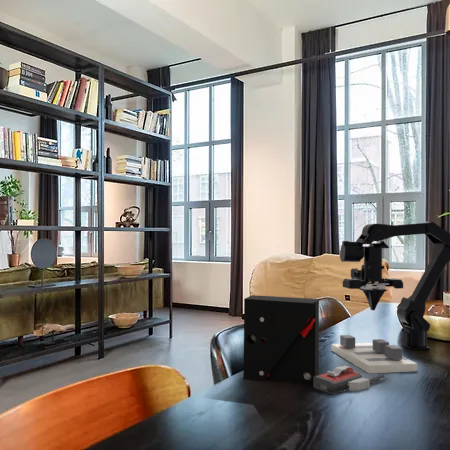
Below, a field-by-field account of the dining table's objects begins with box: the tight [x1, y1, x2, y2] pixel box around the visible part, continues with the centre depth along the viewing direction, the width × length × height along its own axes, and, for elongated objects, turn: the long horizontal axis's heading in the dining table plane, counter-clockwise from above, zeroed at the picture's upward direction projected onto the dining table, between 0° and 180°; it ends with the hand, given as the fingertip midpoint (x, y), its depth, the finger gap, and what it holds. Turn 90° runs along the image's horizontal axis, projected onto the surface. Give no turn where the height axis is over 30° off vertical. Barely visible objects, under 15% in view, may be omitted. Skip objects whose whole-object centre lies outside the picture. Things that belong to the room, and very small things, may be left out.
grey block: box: [372, 338, 390, 353], centre depth 134 cm, size 3×4×3 cm
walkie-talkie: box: [312, 365, 386, 395], centre depth 111 cm, size 9×4×20 cm
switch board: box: [331, 342, 418, 374], centre depth 133 cm, size 14×24×2 cm, turn 10°
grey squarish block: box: [385, 344, 403, 360], centre depth 127 cm, size 3×4×3 cm
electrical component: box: [242, 294, 320, 387], centre depth 116 cm, size 18×10×20 cm, turn 71°
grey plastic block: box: [339, 334, 356, 348], centre depth 139 cm, size 3×4×3 cm
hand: (372, 310), depth 149 cm, fingers closed
